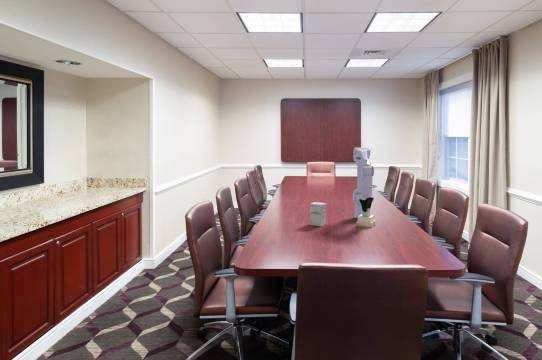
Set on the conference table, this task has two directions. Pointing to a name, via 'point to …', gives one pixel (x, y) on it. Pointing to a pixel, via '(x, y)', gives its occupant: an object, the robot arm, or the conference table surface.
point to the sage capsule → (366, 212)
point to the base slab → (366, 224)
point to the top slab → (366, 218)
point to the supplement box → (317, 214)
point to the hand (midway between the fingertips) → (366, 210)
